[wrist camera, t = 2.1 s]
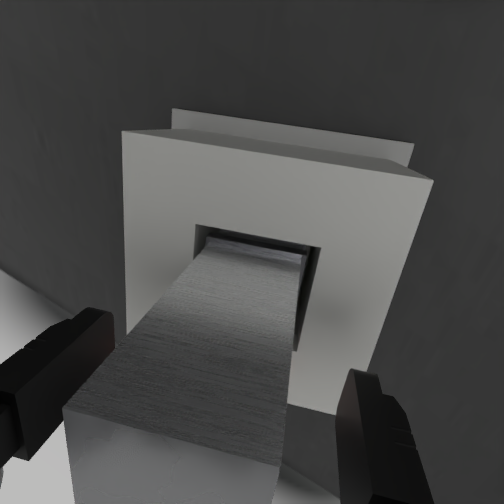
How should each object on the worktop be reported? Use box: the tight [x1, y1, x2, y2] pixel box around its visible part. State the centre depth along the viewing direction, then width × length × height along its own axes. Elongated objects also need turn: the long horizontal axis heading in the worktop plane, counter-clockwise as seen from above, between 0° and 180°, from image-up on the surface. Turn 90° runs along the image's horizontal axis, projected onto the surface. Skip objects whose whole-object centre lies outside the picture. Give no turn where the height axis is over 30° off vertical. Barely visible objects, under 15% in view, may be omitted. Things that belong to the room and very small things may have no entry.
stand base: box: [122, 108, 434, 415], centre depth 18 cm, size 14×14×9 cm
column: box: [62, 229, 307, 504], centre depth 14 cm, size 4×4×16 cm
